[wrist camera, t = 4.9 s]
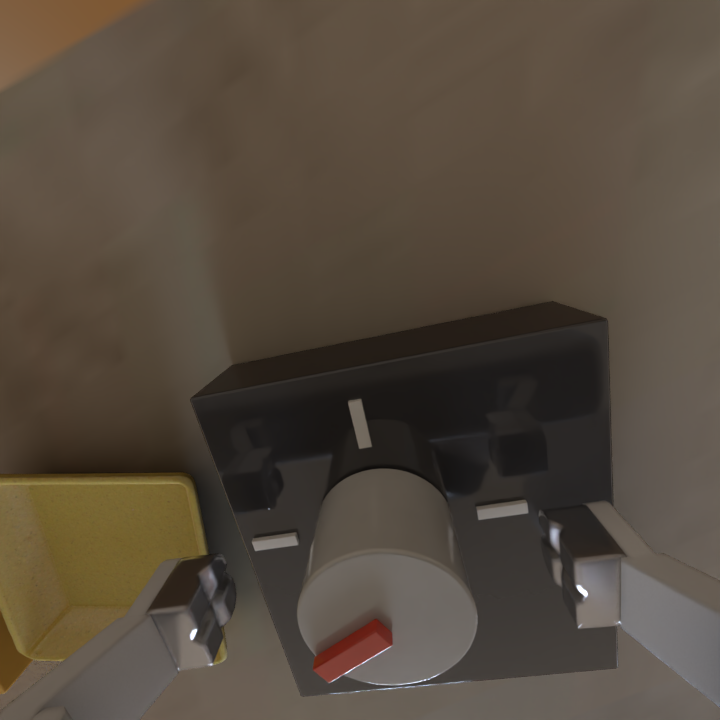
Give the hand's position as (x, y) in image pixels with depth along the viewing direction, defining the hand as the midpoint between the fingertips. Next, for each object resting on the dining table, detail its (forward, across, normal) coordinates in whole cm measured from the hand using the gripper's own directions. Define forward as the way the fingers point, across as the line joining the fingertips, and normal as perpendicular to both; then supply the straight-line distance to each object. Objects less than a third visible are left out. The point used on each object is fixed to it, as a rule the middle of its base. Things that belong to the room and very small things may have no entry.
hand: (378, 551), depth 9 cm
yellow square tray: (+5, +11, +2) cm, 12 cm away
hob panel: (+4, -1, +2) cm, 5 cm away
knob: (+1, 0, +1) cm, 2 cm away
